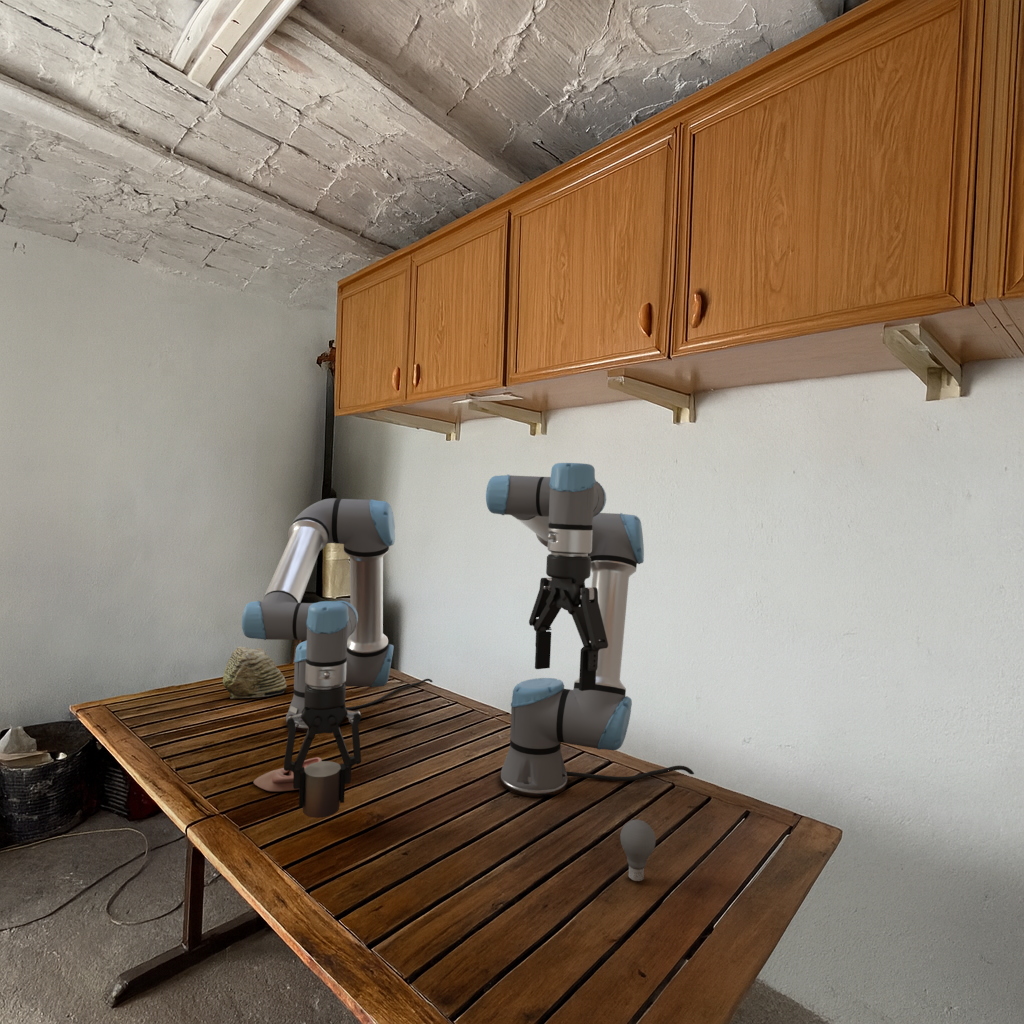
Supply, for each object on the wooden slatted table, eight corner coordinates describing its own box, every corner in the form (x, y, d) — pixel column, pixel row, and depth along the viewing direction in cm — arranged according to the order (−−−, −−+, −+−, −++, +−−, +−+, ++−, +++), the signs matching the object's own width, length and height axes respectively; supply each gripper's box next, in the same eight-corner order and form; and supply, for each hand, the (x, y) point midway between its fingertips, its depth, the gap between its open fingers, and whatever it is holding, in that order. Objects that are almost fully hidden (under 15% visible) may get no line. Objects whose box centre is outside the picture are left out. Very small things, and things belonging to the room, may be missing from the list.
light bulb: (614, 869, 112) (617, 812, 111) (647, 868, 112) (650, 813, 112) (623, 890, 106) (626, 830, 105) (658, 889, 106) (661, 830, 106)
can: (319, 797, 126) (321, 758, 126) (346, 805, 124) (348, 765, 123) (295, 812, 120) (296, 771, 120) (322, 821, 118) (324, 779, 117)
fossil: (218, 695, 195) (220, 647, 195) (278, 685, 208) (279, 640, 207) (228, 703, 189) (230, 653, 188) (289, 692, 201) (290, 645, 201)
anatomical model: (245, 769, 136) (276, 749, 147) (245, 787, 136) (275, 766, 147) (302, 777, 133) (328, 756, 144) (301, 796, 133) (328, 773, 144)
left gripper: (269, 693, 114) (265, 817, 115) (380, 687, 121) (375, 805, 122) (271, 680, 122) (267, 798, 122) (375, 675, 128) (371, 787, 129)
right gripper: (513, 547, 117) (508, 662, 117) (595, 562, 95) (589, 702, 95) (548, 547, 120) (543, 658, 121) (634, 561, 99) (628, 697, 99)
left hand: (321, 801), depth 122 cm, fingers closed on can, 7 cm apart
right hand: (563, 678), depth 108 cm, fingers open, 13 cm apart
